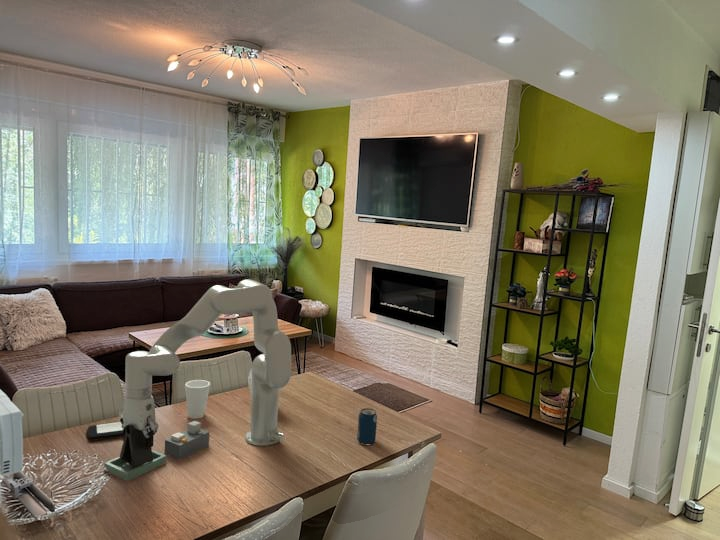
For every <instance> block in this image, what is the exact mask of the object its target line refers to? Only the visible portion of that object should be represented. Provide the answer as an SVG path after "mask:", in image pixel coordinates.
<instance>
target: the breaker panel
mask: <svg viewBox="0 0 720 540" xmlns="http://www.w3.org/2000/svg"><path fill="white" fill-rule="evenodd" d="M180 433H182V434H184V435H185V438H183V439H182V440H181V441H179V442H176V441H173V440H171V436H170V437H168V438H166V439H164V453H163V454H164V455H166V456H168V457H171V458H173V459H176V460H178V461H180V460H183V459H184V458H187V457H189V456H190V455H192V454H194V453H196V452H199V451H200V450H203V449H204V448H207V447H209V446H210V431H207V430H206V429H202V428H200V431H198V433H196V434H194V435H193V434H190V433H188V429H186V430H183V431H182V432H180Z"/></svg>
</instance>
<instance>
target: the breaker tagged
mask: <svg viewBox="0 0 720 540" xmlns="http://www.w3.org/2000/svg"><path fill="white" fill-rule="evenodd" d="M170 437H171V440H173V441H176V442H179V441H181V440H182V439H183V438H185V435H184V434H182V433H181V432H176V433H174V434H171V436H170Z"/></svg>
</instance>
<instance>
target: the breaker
mask: <svg viewBox="0 0 720 540" xmlns="http://www.w3.org/2000/svg"><path fill="white" fill-rule="evenodd" d="M201 424H202V423H201V422H199V421H197V420H193V421H191V422H189V423H187V430H188V433H190V434H193V435H194V434H196V433H198V431H200V429H201V426H202V425H201Z"/></svg>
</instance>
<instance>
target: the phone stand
mask: <svg viewBox="0 0 720 540" xmlns="http://www.w3.org/2000/svg"><path fill="white" fill-rule="evenodd" d="M130 425H131V424H129V425H127V426H126V434H125V438H124V441H123V442H122V446H121V450H120V453H119V456H120V458H121V459H122V460H124V461H126V462H128V463H129V464H130V465H132V466H133V467H137V466H140V465H142V464H145V463H147V462H150V461H152V460H153V455H152V450H153V449H152V447H151V448H149V449H146V450H144V449H143V438H144V437H145V435H144V433H143V431H142V430H139V429H136V428H134V426H133V425H131V426H130ZM147 426H148V425H146V426H145V427H147ZM146 430H147V432H149V431H150V430H149V429H146Z"/></svg>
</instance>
